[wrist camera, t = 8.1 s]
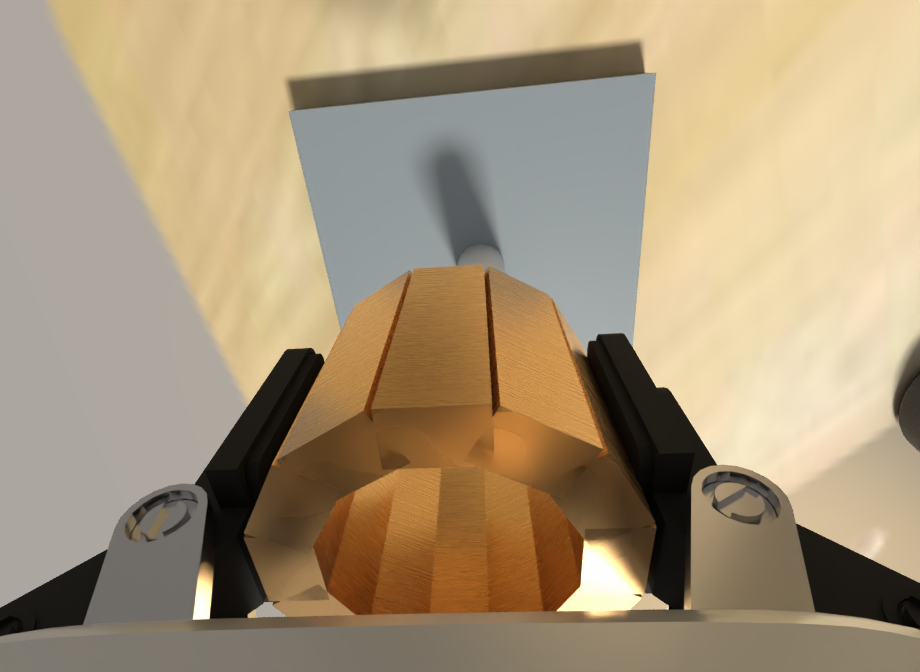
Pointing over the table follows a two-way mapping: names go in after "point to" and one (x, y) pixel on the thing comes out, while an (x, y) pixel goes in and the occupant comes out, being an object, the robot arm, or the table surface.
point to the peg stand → (488, 191)
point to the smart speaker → (911, 413)
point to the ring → (452, 464)
